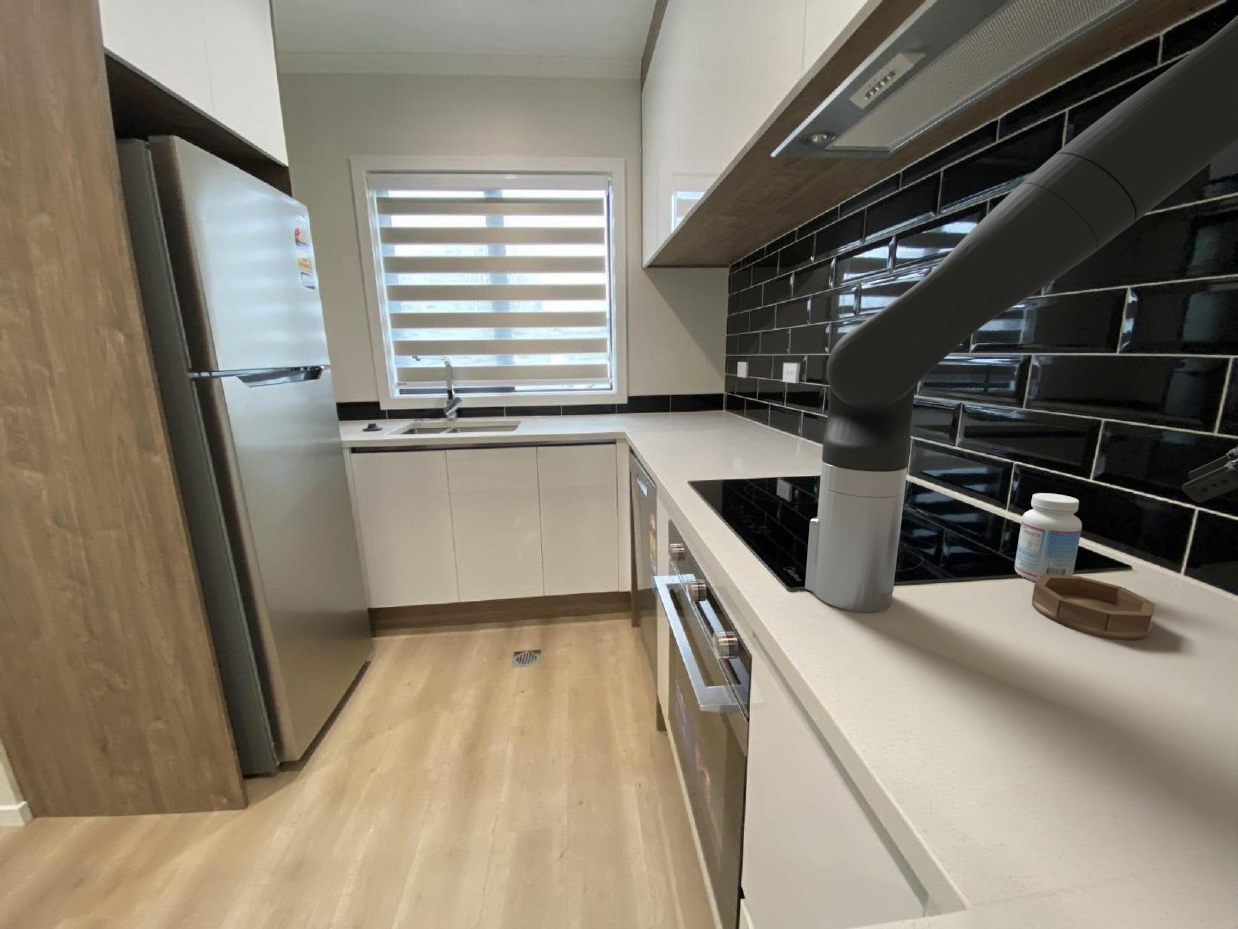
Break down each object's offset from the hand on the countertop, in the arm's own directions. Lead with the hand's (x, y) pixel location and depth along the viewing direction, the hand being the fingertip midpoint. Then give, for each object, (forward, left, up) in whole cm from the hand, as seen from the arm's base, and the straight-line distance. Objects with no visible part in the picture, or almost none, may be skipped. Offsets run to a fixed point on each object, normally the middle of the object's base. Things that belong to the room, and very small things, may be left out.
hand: (1191, 488), depth 55 cm
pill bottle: (-11, 0, -15) cm, 19 cm away
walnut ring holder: (-5, -9, -15) cm, 18 cm away
